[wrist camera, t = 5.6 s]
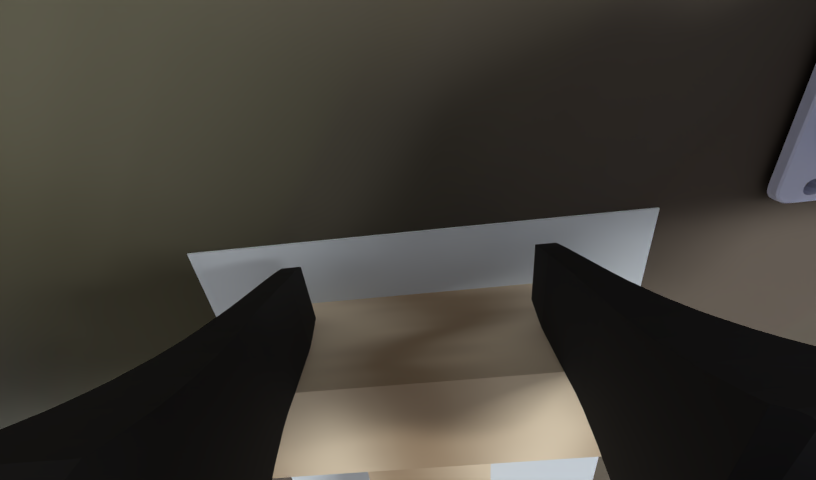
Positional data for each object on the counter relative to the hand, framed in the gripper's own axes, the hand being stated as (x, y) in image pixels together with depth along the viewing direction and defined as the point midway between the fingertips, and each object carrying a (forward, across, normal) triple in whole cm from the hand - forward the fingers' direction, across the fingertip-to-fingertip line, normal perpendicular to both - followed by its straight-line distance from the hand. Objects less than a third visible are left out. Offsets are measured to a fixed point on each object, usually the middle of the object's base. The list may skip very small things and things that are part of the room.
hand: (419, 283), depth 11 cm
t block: (+2, 0, +8) cm, 8 cm away
